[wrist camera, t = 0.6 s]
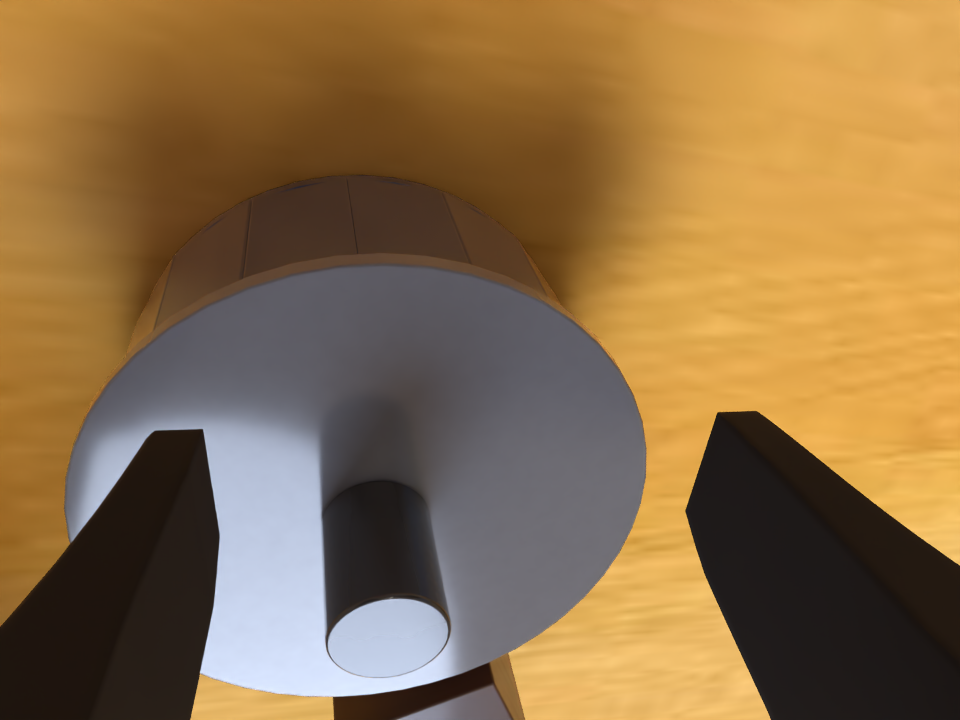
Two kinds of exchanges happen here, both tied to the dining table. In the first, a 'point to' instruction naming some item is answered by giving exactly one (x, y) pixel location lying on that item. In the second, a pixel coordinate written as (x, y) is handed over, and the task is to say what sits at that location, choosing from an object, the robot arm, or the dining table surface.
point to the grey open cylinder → (334, 237)
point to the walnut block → (443, 698)
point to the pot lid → (381, 466)
